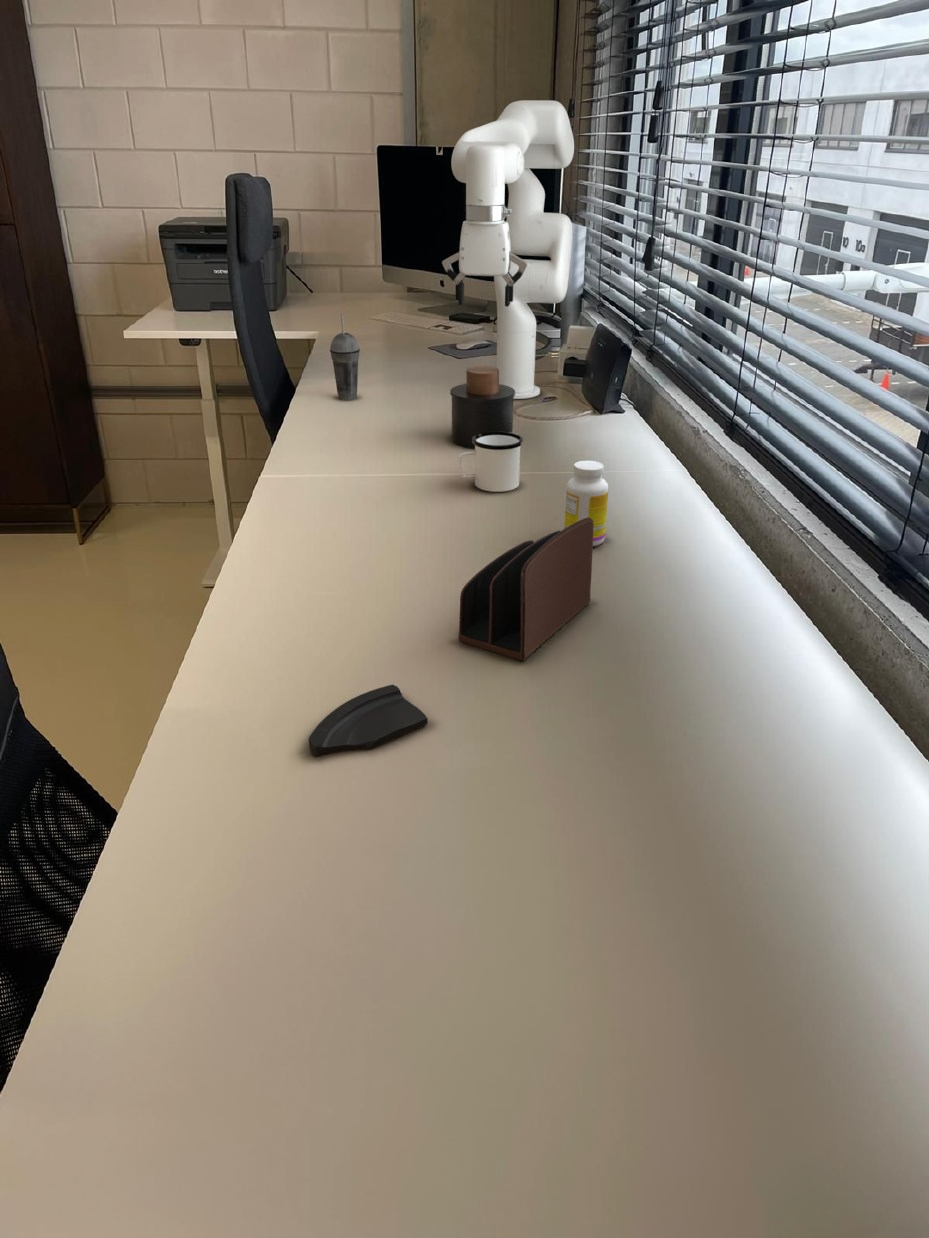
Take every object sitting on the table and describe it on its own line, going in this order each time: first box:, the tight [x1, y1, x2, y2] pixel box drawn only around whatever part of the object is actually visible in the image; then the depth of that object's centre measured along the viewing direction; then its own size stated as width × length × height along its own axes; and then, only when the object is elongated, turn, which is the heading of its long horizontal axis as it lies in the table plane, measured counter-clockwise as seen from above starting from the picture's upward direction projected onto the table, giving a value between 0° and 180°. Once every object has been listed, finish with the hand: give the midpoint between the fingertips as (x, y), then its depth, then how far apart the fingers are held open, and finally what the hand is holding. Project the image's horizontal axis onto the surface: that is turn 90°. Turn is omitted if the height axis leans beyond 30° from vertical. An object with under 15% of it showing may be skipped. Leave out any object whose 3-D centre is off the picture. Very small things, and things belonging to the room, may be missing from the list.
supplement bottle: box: [564, 460, 609, 547], centre depth 152 cm, size 7×7×13 cm
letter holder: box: [458, 517, 594, 662], centre depth 126 cm, size 10×20×14 cm, turn 148°
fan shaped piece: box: [308, 684, 429, 758], centre depth 106 cm, size 8×14×2 cm, turn 125°
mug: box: [458, 431, 524, 493], centre depth 176 cm, size 12×10×9 cm
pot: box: [449, 383, 515, 450], centre depth 200 cm, size 14×14×11 cm
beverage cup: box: [329, 314, 361, 401], centre depth 228 cm, size 7×7×20 cm
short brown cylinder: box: [465, 365, 499, 395], centre depth 197 cm, size 7×7×4 cm
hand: (484, 304), depth 194 cm, fingers open, 9 cm apart
